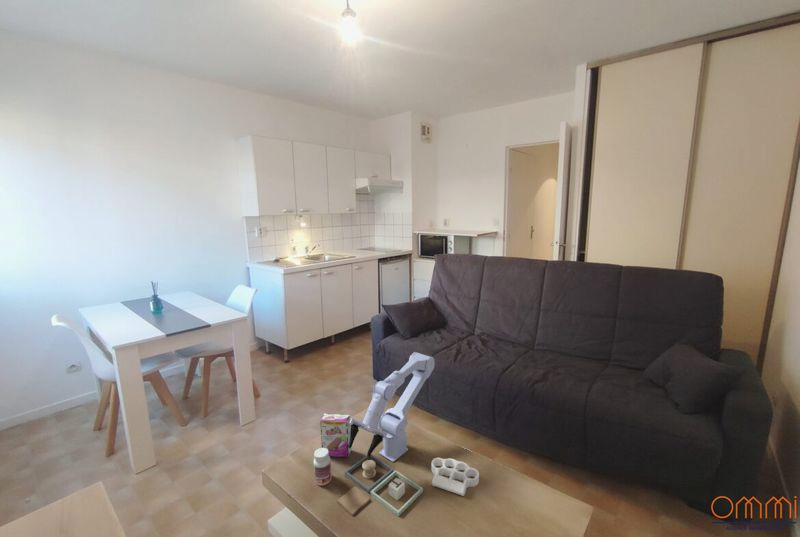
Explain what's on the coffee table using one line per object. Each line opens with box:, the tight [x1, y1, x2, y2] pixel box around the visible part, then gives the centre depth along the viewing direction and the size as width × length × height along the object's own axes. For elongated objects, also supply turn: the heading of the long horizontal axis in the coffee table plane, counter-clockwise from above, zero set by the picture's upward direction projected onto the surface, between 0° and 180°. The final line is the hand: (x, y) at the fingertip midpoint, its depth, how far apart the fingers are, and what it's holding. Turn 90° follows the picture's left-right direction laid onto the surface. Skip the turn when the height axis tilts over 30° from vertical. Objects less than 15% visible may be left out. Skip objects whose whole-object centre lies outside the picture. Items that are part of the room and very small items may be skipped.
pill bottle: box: [313, 447, 333, 486], centre depth 128 cm, size 6×6×11 cm
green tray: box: [369, 470, 424, 517], centre depth 122 cm, size 13×13×2 cm
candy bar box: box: [319, 413, 352, 458], centre depth 141 cm, size 11×5×16 cm, turn 85°
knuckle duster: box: [430, 457, 480, 497], centre depth 129 cm, size 3×18×15 cm
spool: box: [361, 459, 377, 480], centre depth 131 cm, size 5×5×4 cm
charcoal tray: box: [344, 453, 395, 495], centre depth 131 cm, size 13×13×2 cm
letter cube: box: [388, 477, 406, 501], centre depth 122 cm, size 4×4×4 cm
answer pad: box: [336, 486, 371, 516], centre depth 119 cm, size 8×8×1 cm
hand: (358, 451), depth 126 cm, fingers open, 7 cm apart
